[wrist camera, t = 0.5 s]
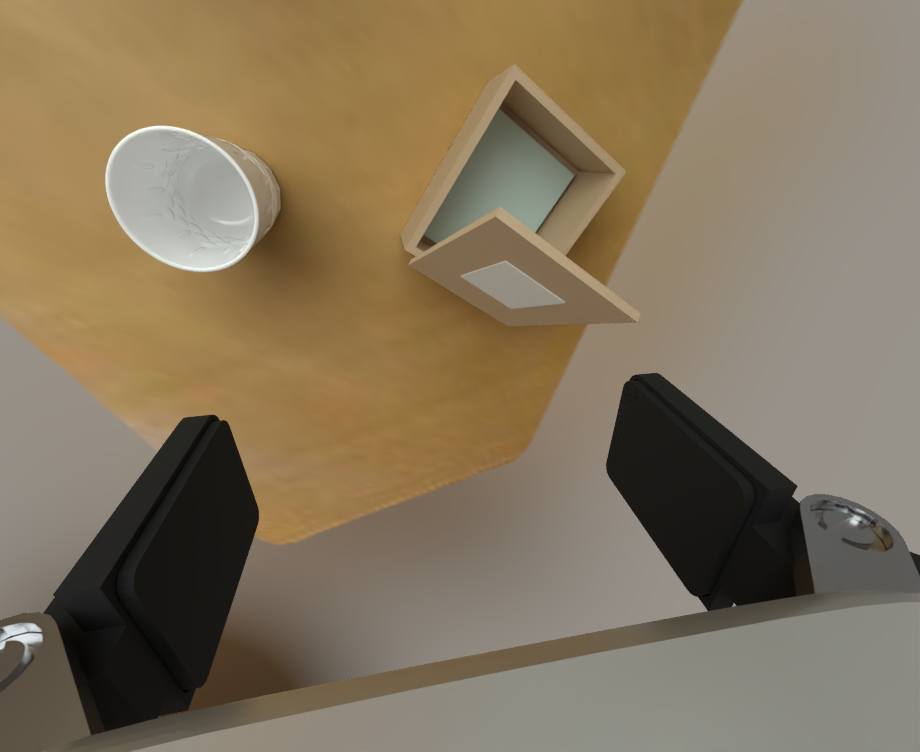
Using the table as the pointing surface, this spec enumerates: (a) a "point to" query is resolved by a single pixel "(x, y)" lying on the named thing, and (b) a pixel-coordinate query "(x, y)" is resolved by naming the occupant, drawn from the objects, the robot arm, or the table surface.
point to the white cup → (191, 197)
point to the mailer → (515, 169)
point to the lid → (519, 276)
